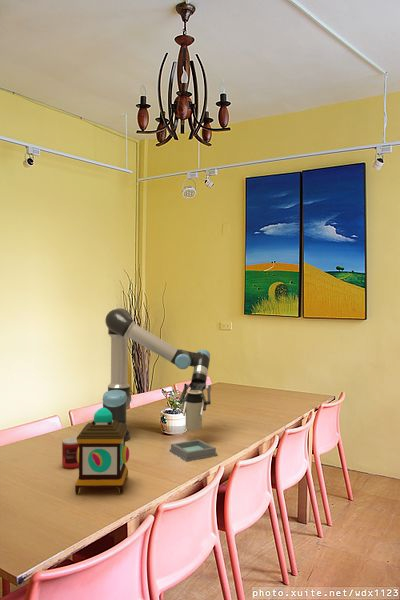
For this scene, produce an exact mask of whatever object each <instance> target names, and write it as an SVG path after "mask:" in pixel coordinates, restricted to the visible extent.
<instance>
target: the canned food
mask: <svg viewBox="0 0 400 600" xmlns="http://www.w3.org/2000/svg"><path fill="white" fill-rule="evenodd" d="M76 438H77V437H67V438H64V439H63V440H62V443H61V444H62V447H61V453H62V454H61V455H62V456H61V457H62V459H61V460H62V461H61V464H62V468H64V469H67V470H75V469H79V463H78V462H77V460H76V452H77V449H78V447H79V444H78V442H77V440H76Z"/></svg>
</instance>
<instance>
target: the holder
mask: <svg viewBox="0 0 400 600" xmlns="http://www.w3.org/2000/svg"><path fill="white" fill-rule="evenodd" d="M216 449H217V448H216V446H215V447H214V446H213V445H211V444H208V443H207V442H205V441H203V440H201V439H194V440H188V441H181V442H180V441H179V442H176V443H171V444H170V448H169V452H170V453H171V454H173V455H175V456H176V455H177V456H176V457H177V458H179V457H180V458H179V459H181V460H183V461H184V460H185V462H192V460H193V461H197V459H198V460H203V459H206V458H207V457H208V458H213V457H212V456H214V457H218V452H217V450H216ZM202 458H203V459H202ZM208 458H207V459H208Z"/></svg>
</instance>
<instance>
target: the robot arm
mask: <svg viewBox="0 0 400 600" xmlns="http://www.w3.org/2000/svg"><path fill="white" fill-rule="evenodd" d="M104 322H105V326H106V327H107V329H108V330H107V333H108V334H107V335H108V337H110V383H109V384H108V385H107V391H105V392H104V393H103V395H102V408H107V409H108V410H109V411H110V412H111V413H112V418H113V419H114V420H116V422H118V423H123V424H125V425H126V426H127V427H128V425H127V409H128V408H129V406H130V404H131V402H132V395H131V385H130V384H129V383H128V347H129V346H128V341H129V340H128V339H130V340H132V341H134V342H135V343H137V344H138V345H141V346H142V347H144V348H146V349H147V350H149V351H151V352H153V353H155V354H156V355H158V356H159V357H161V358H163V359H165V360H166V361H168V362H169V363H172V365H175V366H176V368H177V369H179V370H186V369H188V368H189V367H193V369H192V370H193V371H192V376H191V380H190V381H191V382H190V383H188V384H187V383H184V385H183V386H184V388H183V390H182V392H181V395H180V398H179V401H180V403H181V404H182V405H181V408H182V415H183V417H186V398H187V396H188V393H187V391H188V390H199V391H202V394H201V396H202V398H203V400H202V407H201V413H200V415H201V417H202V418H203V417H204V412H205V411H206V410H207V406H208V405H211V392H212V391H211V390H212V386H211V385H210V384H209V385H207V378H208V372H209V367H210V361H211V353H210V352H209V351H208V350H207V349H198V350H197V351H196V352H195V351H188V350H185V349H181V348H177V347H175V346H174V345H172V344H170V343H168V342H166V340H163V339H162V338H159V337H158V336H156V335H155V334H154V333H151V332H150V331H148V330H146V329H145V328H142V327H141V326H139V325H137V324H136V322H135V321H134V320H133V317H132V314H131V313H130V312H129V310H127V309H125V308H120V307H119V308H115V309H112V310H110V311H109V312H108V313H107V314H106V317H105V321H104ZM189 388H190V389H189ZM204 390H206V391H207V400H206V397H205V394H204ZM130 439H131V434H130V431H129V427H128V428H127V431H126V433H125V442H126V441H128V440H130Z"/></svg>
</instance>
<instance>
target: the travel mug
mask: <svg viewBox="0 0 400 600" xmlns="http://www.w3.org/2000/svg"><path fill="white" fill-rule="evenodd" d="M186 394H188V396H187V398H186V413H185V429H187V430H190V431H198V430H201V429H203V428H202V425H203V422H202V421H203V417H201V415H200V413H201V407H202V403H203V398H202V396H201V394H202V391H199V390H190V389H188V390H187V392H186Z"/></svg>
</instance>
